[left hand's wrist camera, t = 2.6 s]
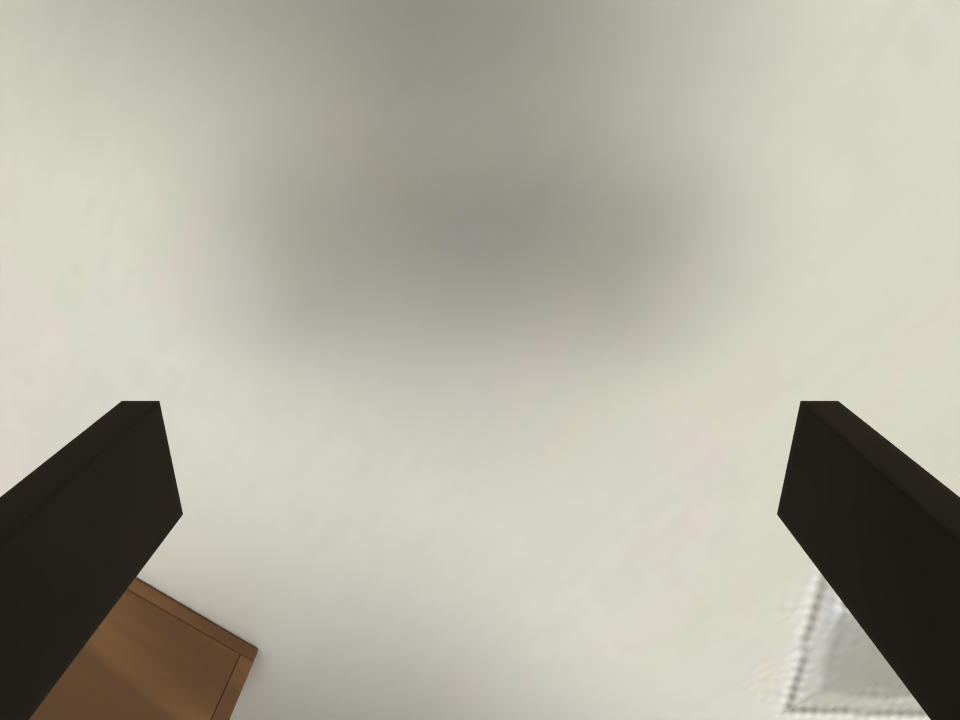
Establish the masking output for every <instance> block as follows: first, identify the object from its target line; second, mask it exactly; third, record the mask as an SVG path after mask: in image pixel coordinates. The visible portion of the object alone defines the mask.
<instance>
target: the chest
mask: <svg viewBox="0 0 960 720" xmlns="http://www.w3.org/2000/svg"><path fill="white" fill-rule="evenodd" d="M257 652H258V650H257V649H256V648H254V647H253V646H251V645H249V644H248V643H246V642H244V641H242V640H241V639H239V638H237V637H236V636H234V635H232V634H230V633H229V632H227V631H225V630H224V629H222V628H220V627H218V626H217V625H215V624H213V623H212V622H210V621H208V620H206V619H205V618H203V617H201V616H200V615H198V614H196V613H194V612H193V611H191V610H189V609H188V608H186V607H184V606H182V605H181V604H179V603H177V602H176V601H174V600H172V599H170V598H169V597H167V596H165V595H164V594H162V593H160V592H158V591H157V590H155V589H153V588H152V587H150V586H148V585H146V584H145V583H143V582H141V581H140V580H138V579H136V578H135V579H134V580H133V582H132V583H131V584H130V586H129V587H128V588H127V590H126V591H125V592H124V594H123V595H122V596H121V598H120V599H119V600H118V602H117V603H116V604H115V606H114V607H113V608H112V610H111V611H110V612H109V614H108V615H107V616H106V618H105V619H104V620H103V622H102V623H101V624H100V626H99V627H98V628H97V630H96V631H95V632H94V634H93V635H92V636H91V638H90V639H89V640H88V642H87V643H86V644H85V646H84V647H83V648H82V650H81V651H80V652H79V654H78V655H77V656H76V658H75V659H74V660H73V662H72V663H71V664H70V666H69V667H68V668H67V670H66V671H65V672H64V674H63V675H62V676H61V678H60V679H59V680H58V682H57V683H56V684H55V686H54V687H53V688H52V690H51V691H50V692H49V694H48V695H47V696H46V698H45V699H44V700H43V702H42V703H41V704H40V706H39V707H38V708H37V710H36V711H35V712H34V714H33V715H32V716H31V718H30V719H29V720H229V719H230V717H231V714H232V712H233V710H234V707H235V705H236V702H237V700H238V698H239V695H240V693H241V690H242V688H243V686H244V683H245V681H246V678H247V676H248V674H249V671H250V669H251V666H252V664H253V661H254V659H255V656H256V654H257Z"/></svg>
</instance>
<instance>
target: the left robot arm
mask: <svg viewBox="0 0 960 720" xmlns="http://www.w3.org/2000/svg"><path fill="white" fill-rule="evenodd" d="M182 515H183V512H182V508H181V503H180V498H179V493H178V488H177V484H176V479H175V474H174V469H173V464H172V460H171V455H170V450H169V445H168V440H167V436H166V431H165V426H164V421H163V416H162V412H161V407H160V402H159V401H121V402H120V403H119V404H118V405H116V406H115V407H114V408H113V409H111V410H110V411H109V412H107V413H106V414H105V415H104V416H102V417H101V418H100V419H99V420H97V421H96V422H95V423H94V424H92V425H91V426H90V427H89V428H87V429H86V430H85V431H83V432H82V433H81V434H80V435H78V436H77V437H76V438H75V439H73V440H72V441H71V442H70V443H68V444H67V445H66V446H65V447H63V448H62V449H61V450H59V451H58V452H57V453H56V454H54V455H53V456H52V457H51V458H49V459H48V460H47V461H46V462H44V463H43V464H42V465H41V466H39V467H38V468H37V469H35V470H34V471H33V472H32V473H30V474H29V475H28V476H27V477H25V478H24V479H23V480H22V481H20V482H19V483H18V484H17V485H15V486H14V487H13V488H11V489H10V490H9V491H8V492H6V493H5V494H4V495H3V496H1V497H0V720H29V719H30V718H31V716H32V715H33V714H34V712H35V711H36V710H37V708H38V707H39V706H40V704H41V703H42V702H43V700H44V699H45V698H46V696H47V695H48V694H49V692H50V691H51V690H52V688H53V687H54V686H55V684H56V683H57V682H58V680H59V679H60V678H61V676H62V675H63V674H64V672H65V671H66V670H67V668H68V667H69V666H70V664H71V663H72V662H73V660H74V659H75V658H76V656H77V655H78V654H79V652H80V651H81V650H82V648H83V647H84V646H85V644H86V643H87V642H88V640H89V639H90V638H91V636H92V635H93V634H94V632H95V631H96V630H97V628H98V627H99V626H100V624H101V623H102V622H103V620H104V619H105V618H106V616H107V615H108V614H109V612H110V611H111V610H112V608H113V607H114V606H115V604H116V603H117V602H118V600H119V599H120V598H121V596H122V595H123V594H124V592H125V591H126V590H127V588H128V587H129V586H130V584H131V583H132V582H133V580H134V579H135V578H136V576H137V575H138V574H139V572H140V571H141V570H142V568H143V567H144V566H145V564H146V563H147V562H148V560H149V559H150V558H151V556H152V555H153V554H154V552H155V551H156V550H157V548H158V547H159V546H160V544H161V543H162V542H163V540H164V539H165V538H166V536H167V535H168V534H169V532H170V531H171V530H172V528H173V527H174V526H175V524H176V523H177V522H178V520H179V519H180V517H181V516H182ZM777 515H778V516H779V517H780V519H781V520H782V522H783V523H784V524H785V526H786V527H787V528H788V530H789V531H790V532H791V534H792V535H793V536H794V538H795V539H796V540H797V542H798V543H799V544H800V546H801V547H802V548H803V550H804V551H805V552H806V554H807V555H808V556H809V558H810V559H811V560H812V562H813V563H814V564H815V566H816V567H817V568H818V570H819V571H820V572H821V574H822V575H823V576H824V578H825V579H826V580H827V582H828V583H829V584H830V586H831V587H832V588H833V590H834V591H835V592H836V594H837V595H838V596H839V598H840V599H841V600H842V602H843V603H844V604H845V606H846V607H847V608H848V610H849V611H850V612H851V614H852V615H853V616H854V618H855V619H856V620H857V622H858V623H859V624H860V626H861V627H862V628H863V630H864V631H865V632H866V634H867V635H868V636H869V638H870V639H871V640H872V642H873V643H874V644H875V646H876V647H877V648H878V650H879V651H880V652H881V654H882V655H883V656H884V658H885V659H886V660H887V662H888V663H889V664H890V666H891V667H892V668H893V670H894V671H895V672H896V674H897V675H898V676H899V678H900V679H901V680H902V682H903V683H904V684H905V686H906V687H907V688H908V690H909V691H910V692H911V694H912V695H913V696H914V698H915V699H916V700H917V702H918V703H919V704H920V706H921V707H922V708H923V710H924V711H925V712H926V714H927V715H928V716H929V718H930V719H931V720H960V497H959V496H957V495H956V494H955V493H954V492H952V491H951V490H950V489H949V488H947V487H946V486H945V485H943V484H942V483H941V482H940V481H938V480H937V479H936V478H935V477H933V476H932V475H931V474H930V473H928V472H927V471H926V470H925V469H923V468H922V467H921V466H919V465H918V464H917V463H916V462H914V461H913V460H912V459H911V458H909V457H908V456H907V455H906V454H904V453H903V452H902V451H901V450H899V449H898V448H897V447H895V446H894V445H893V444H892V443H890V442H889V441H888V440H887V439H885V438H884V437H883V436H882V435H880V434H879V433H878V432H877V431H875V430H874V429H873V428H871V427H870V426H869V425H868V424H866V423H865V422H864V421H863V420H861V419H860V418H859V417H858V416H856V415H855V414H854V413H853V412H851V411H850V410H849V409H847V408H846V407H845V406H844V405H842V404H841V403H840V402H839V401H801V402H800V407H799V412H798V416H797V421H796V426H795V431H794V436H793V440H792V445H791V450H790V455H789V460H788V464H787V469H786V474H785V479H784V484H783V488H782V493H781V498H780V503H779V508H778V512H777Z"/></svg>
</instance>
